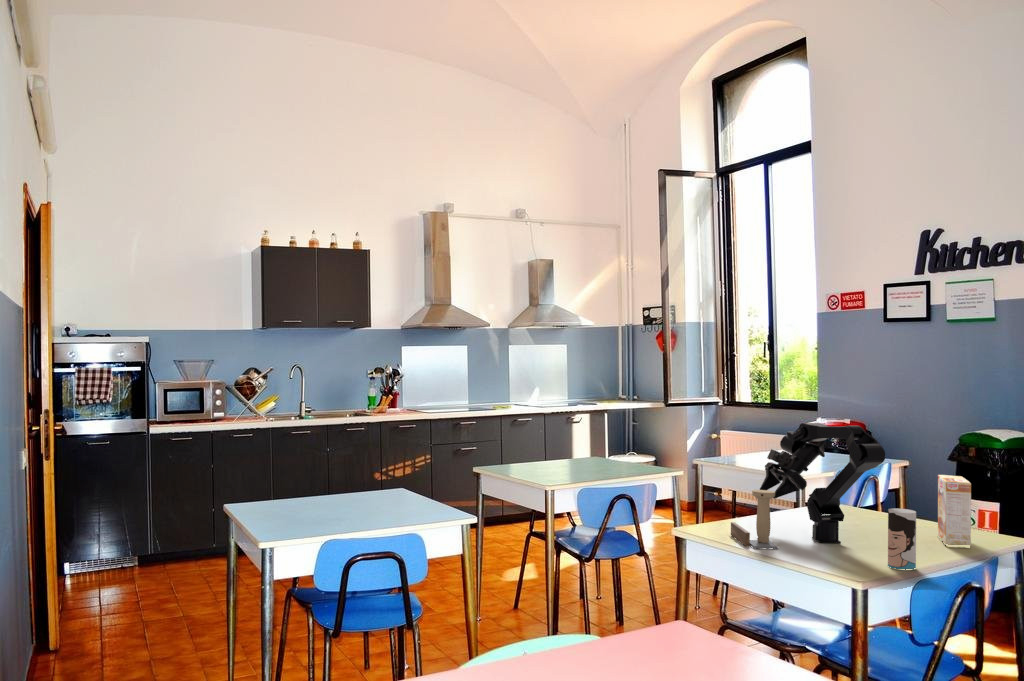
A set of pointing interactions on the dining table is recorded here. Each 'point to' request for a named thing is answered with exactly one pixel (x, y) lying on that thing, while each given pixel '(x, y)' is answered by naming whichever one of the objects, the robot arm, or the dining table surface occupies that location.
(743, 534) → the walnut fence
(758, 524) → the handle
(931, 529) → the dining table surface
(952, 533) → the coffeecake box
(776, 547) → the end pad
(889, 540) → the cup
